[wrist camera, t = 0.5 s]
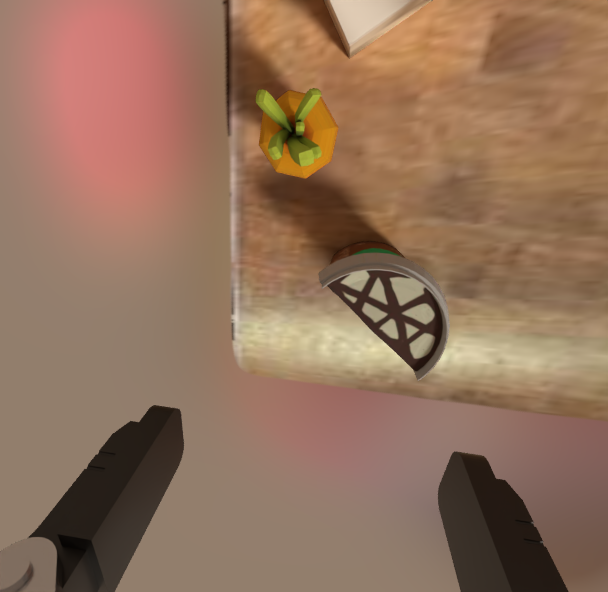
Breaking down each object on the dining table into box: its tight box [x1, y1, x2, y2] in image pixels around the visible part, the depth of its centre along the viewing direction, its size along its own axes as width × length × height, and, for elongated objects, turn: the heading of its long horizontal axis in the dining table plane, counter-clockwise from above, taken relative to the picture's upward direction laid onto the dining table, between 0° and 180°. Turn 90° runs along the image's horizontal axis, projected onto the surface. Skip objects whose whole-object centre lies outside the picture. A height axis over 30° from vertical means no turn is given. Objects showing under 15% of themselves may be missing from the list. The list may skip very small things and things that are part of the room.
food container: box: [319, 241, 450, 381], centre depth 29 cm, size 12×6×10 cm, turn 45°
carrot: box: [256, 88, 338, 178], centre depth 22 cm, size 5×5×15 cm
